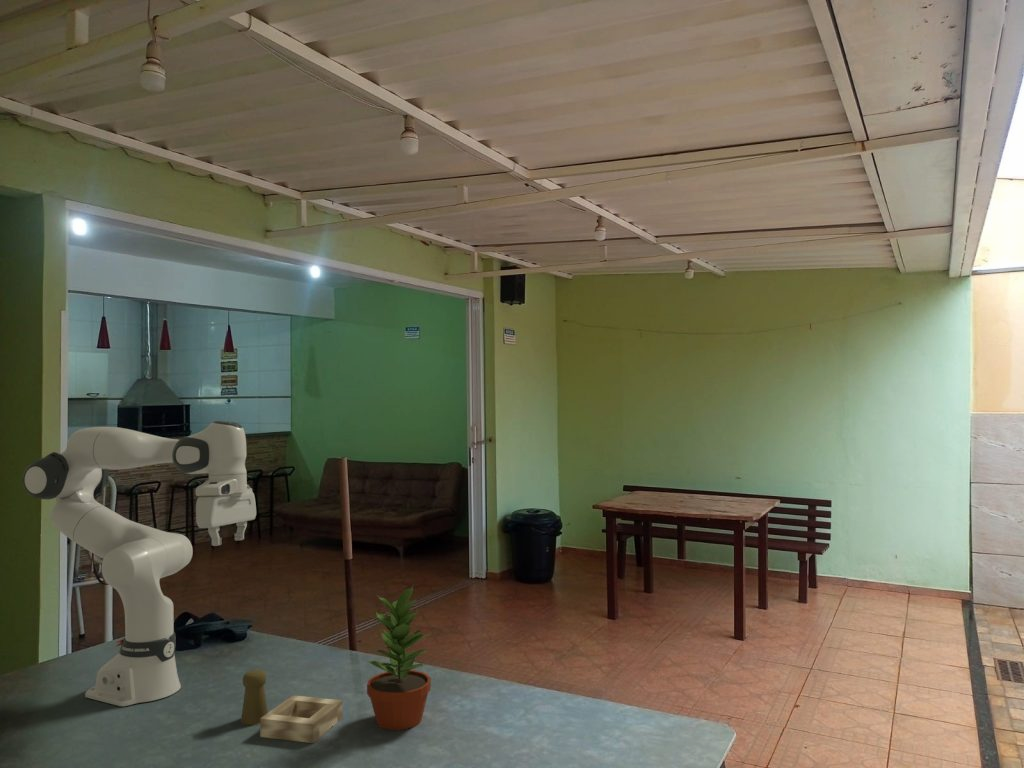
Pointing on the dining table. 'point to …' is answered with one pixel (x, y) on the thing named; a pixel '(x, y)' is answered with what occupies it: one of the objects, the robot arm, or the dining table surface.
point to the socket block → (301, 719)
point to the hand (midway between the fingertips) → (228, 542)
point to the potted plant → (399, 670)
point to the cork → (254, 697)
